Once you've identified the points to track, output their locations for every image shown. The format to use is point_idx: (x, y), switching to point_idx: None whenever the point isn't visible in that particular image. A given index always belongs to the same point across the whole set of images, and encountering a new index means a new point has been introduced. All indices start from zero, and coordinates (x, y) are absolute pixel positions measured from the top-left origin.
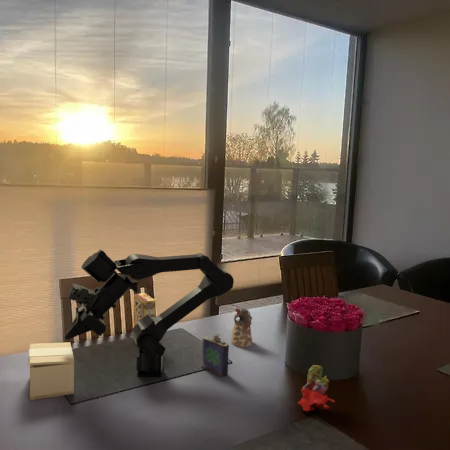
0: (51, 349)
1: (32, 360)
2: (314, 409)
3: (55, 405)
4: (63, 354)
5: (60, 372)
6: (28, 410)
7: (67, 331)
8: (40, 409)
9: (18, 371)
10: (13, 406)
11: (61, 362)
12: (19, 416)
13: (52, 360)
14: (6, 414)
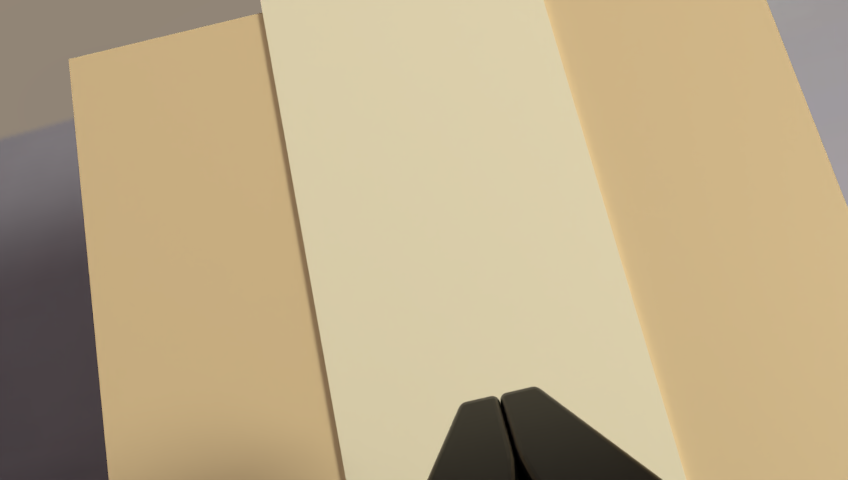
0: (540, 225)
1: (149, 66)
2: None
3: None
4: (354, 446)
5: None
6: (87, 263)
7: (558, 449)
8: (77, 350)
9: (776, 22)
10: None
11: (114, 457)
12: (20, 221)
13: (144, 317)
14: (72, 130)
